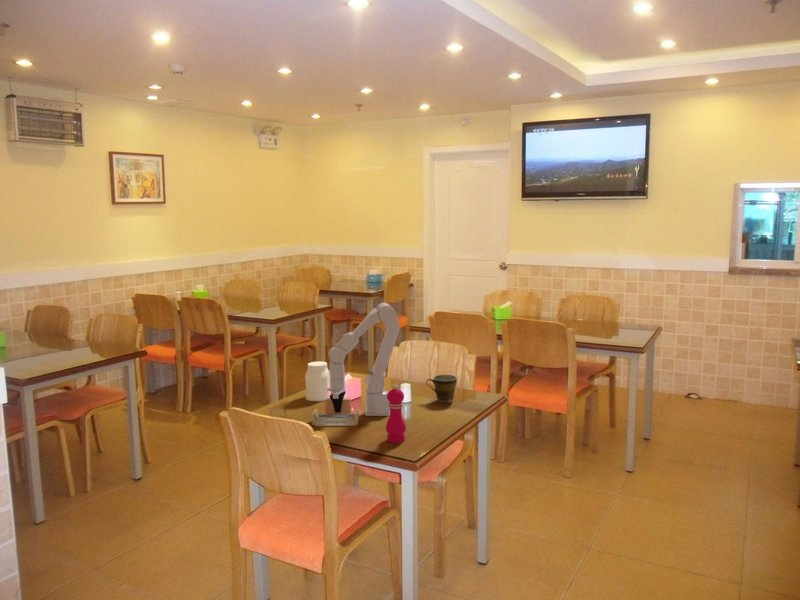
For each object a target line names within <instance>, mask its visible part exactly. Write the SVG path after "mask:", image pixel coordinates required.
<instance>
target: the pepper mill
mask: <svg viewBox="0 0 800 600" xmlns="http://www.w3.org/2000/svg"><path fill="white" fill-rule="evenodd" d="M388 391H389V392H388V393H387V400H388V401H389V403H388V404H389V406H388V407H389V408H390V411H389V417H388V419H387V422H386V424H385V431H386V433H387V435H386V440H387V442H389V443H392V444H401V443H403V442H404V441H405V440H406V435H405V433H406V431H407V424H406V421H405V419H404V418H403V414H402V408H403V407H404V406H403V404H404V402H403V401H404V399H405V394H404V392H403V391H402V390H401V389H399V387H398V385H397V384H393V385H392V389H390V390H388Z"/></svg>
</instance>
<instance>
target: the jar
mask: <svg viewBox="0 0 800 600" xmlns="http://www.w3.org/2000/svg"><path fill="white" fill-rule="evenodd" d="M304 378H305V379H304V380H305V400H306V401H310V402H323V401H324V402H325V398H330V396H328V391H327V389H328V387H329V383H330V369H329V368H328V363H327V362H326V361H319V360H318V361H311V362H308V363H307V370H306V372H305V376H304ZM328 380H329V381H328Z"/></svg>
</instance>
